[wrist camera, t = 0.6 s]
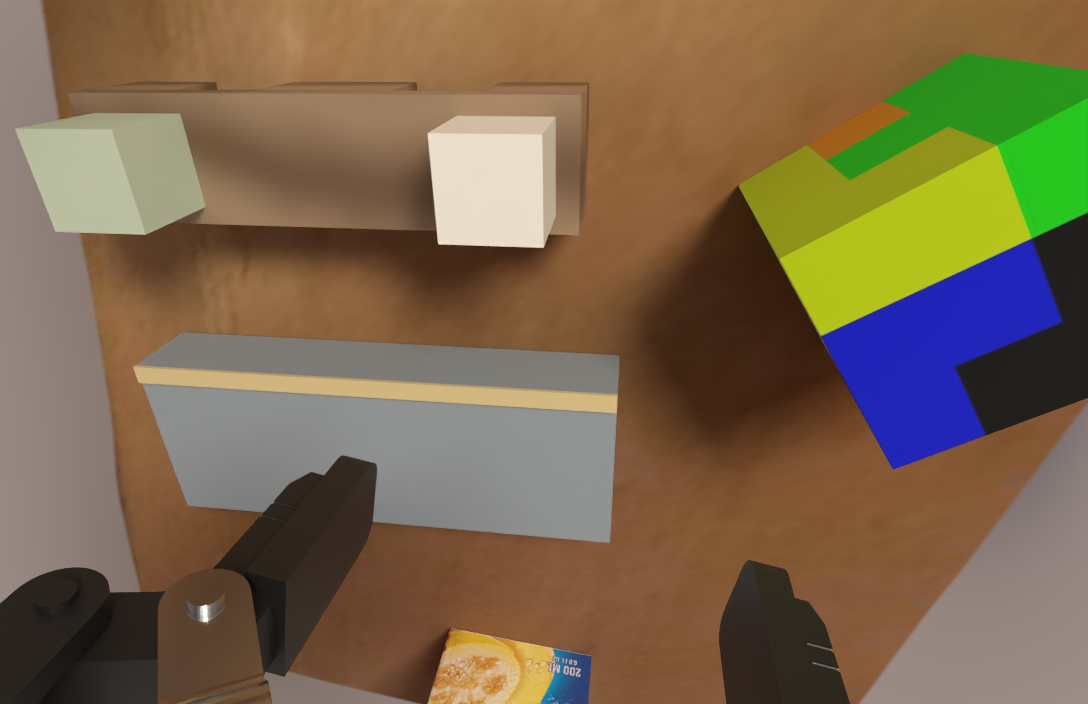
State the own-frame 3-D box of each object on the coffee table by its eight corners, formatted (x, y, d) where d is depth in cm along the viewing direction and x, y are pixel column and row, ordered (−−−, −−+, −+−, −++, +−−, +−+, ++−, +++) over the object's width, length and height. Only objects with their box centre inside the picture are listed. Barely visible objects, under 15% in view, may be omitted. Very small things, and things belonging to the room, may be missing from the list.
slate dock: (182, 332, 38) (133, 367, 34) (619, 355, 34) (617, 396, 31) (224, 464, 42) (185, 507, 39) (612, 495, 39) (609, 545, 36)
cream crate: (456, 116, 25) (427, 133, 22) (555, 116, 25) (542, 134, 21) (463, 213, 27) (438, 244, 24) (555, 216, 27) (543, 247, 23)
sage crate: (94, 113, 27) (14, 128, 24) (180, 113, 27) (111, 129, 23) (125, 204, 29) (55, 231, 26) (205, 207, 29) (145, 234, 25)
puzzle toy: (825, 347, 33) (892, 469, 24) (737, 184, 30) (779, 258, 21) (1037, 250, 29) (1206, 353, 20) (964, 53, 26) (1129, 76, 17)
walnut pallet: (139, 82, 31) (66, 92, 27) (589, 82, 28) (581, 94, 24) (172, 196, 33) (111, 221, 30) (586, 206, 31) (579, 235, 27)
